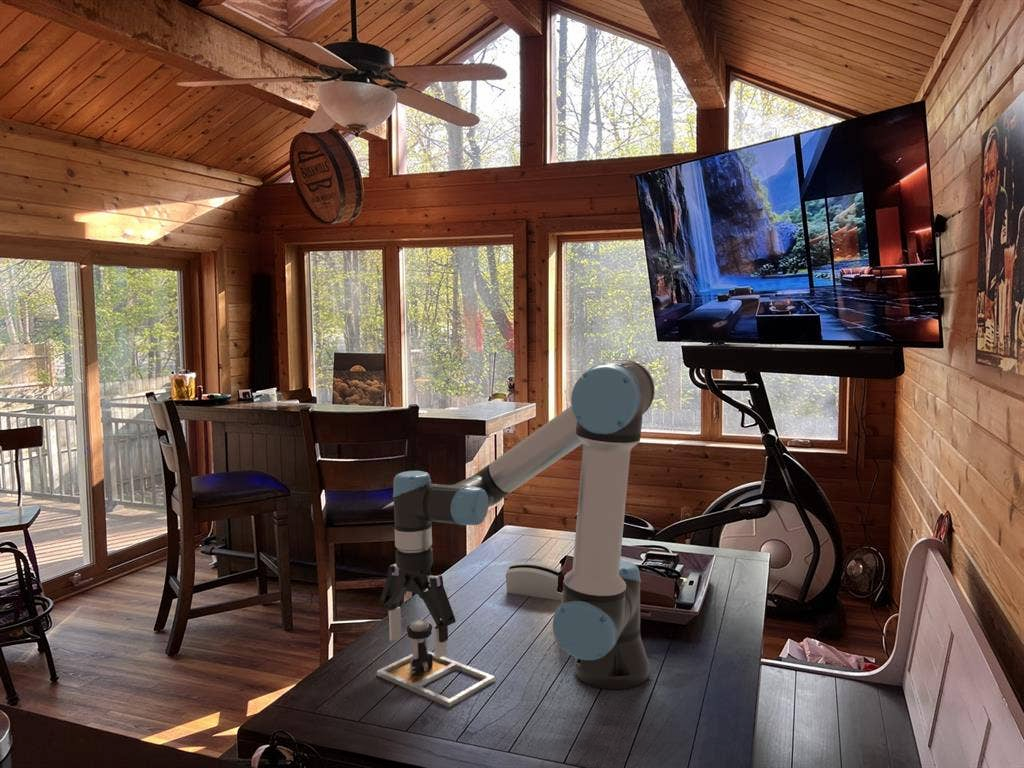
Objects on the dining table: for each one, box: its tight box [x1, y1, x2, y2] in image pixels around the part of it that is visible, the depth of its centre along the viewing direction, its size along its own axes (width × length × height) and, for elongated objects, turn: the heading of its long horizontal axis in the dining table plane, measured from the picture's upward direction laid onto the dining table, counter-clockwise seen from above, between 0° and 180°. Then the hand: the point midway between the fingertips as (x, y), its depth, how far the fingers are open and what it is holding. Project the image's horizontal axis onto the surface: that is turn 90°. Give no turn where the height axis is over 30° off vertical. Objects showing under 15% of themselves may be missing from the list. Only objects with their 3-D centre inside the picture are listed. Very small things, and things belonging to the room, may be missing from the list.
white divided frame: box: [376, 650, 496, 708], centre depth 156 cm, size 21×13×1 cm, turn 50°
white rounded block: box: [505, 561, 562, 602], centre depth 200 cm, size 17×5×10 cm, turn 65°
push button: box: [406, 619, 434, 675], centre depth 159 cm, size 7×5×10 cm
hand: (417, 647), depth 159 cm, fingers open, 13 cm apart
